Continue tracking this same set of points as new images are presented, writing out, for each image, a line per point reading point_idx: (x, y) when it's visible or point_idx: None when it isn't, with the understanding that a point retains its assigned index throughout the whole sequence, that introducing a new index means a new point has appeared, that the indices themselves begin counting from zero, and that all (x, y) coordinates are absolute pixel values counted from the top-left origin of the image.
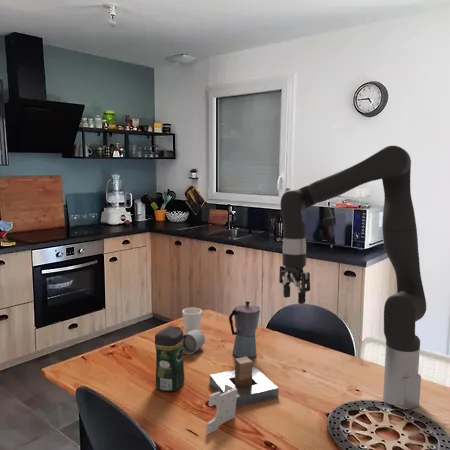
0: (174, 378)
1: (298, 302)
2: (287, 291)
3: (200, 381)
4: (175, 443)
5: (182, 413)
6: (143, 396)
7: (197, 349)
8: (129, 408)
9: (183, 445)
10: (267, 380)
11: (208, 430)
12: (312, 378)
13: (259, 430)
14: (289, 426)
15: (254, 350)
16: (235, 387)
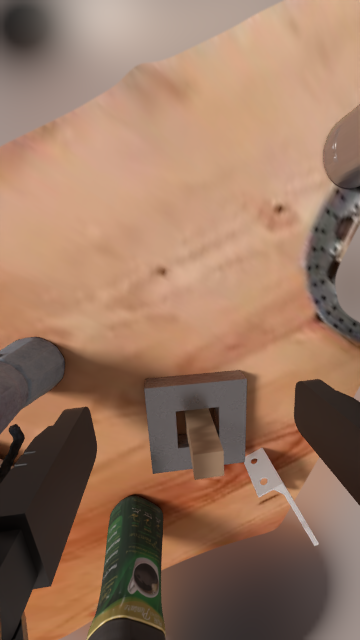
0: (161, 534)
1: (303, 432)
2: (69, 476)
3: (139, 469)
4: (281, 517)
5: (223, 504)
6: None
7: None
8: (185, 557)
9: (288, 510)
10: (212, 386)
11: (288, 491)
12: (200, 273)
13: None
14: None
15: (49, 353)
16: None
